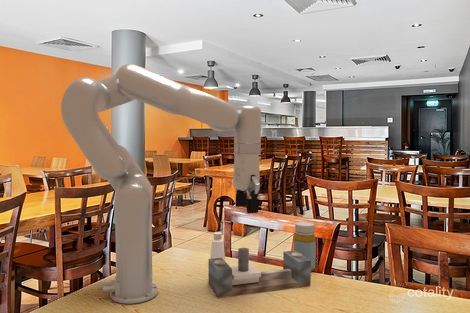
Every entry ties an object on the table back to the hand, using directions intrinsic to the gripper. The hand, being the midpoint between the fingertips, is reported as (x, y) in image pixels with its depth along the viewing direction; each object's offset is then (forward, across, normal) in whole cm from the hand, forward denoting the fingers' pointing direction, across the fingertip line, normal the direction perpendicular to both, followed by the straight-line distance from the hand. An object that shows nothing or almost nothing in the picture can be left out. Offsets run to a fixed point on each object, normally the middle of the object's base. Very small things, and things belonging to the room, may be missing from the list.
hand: (246, 209), depth 108 cm
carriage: (+21, 0, -1) cm, 21 cm away
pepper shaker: (+23, -20, -3) cm, 30 cm away
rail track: (+22, 0, +4) cm, 23 cm away
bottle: (+22, -8, +23) cm, 33 cm away
